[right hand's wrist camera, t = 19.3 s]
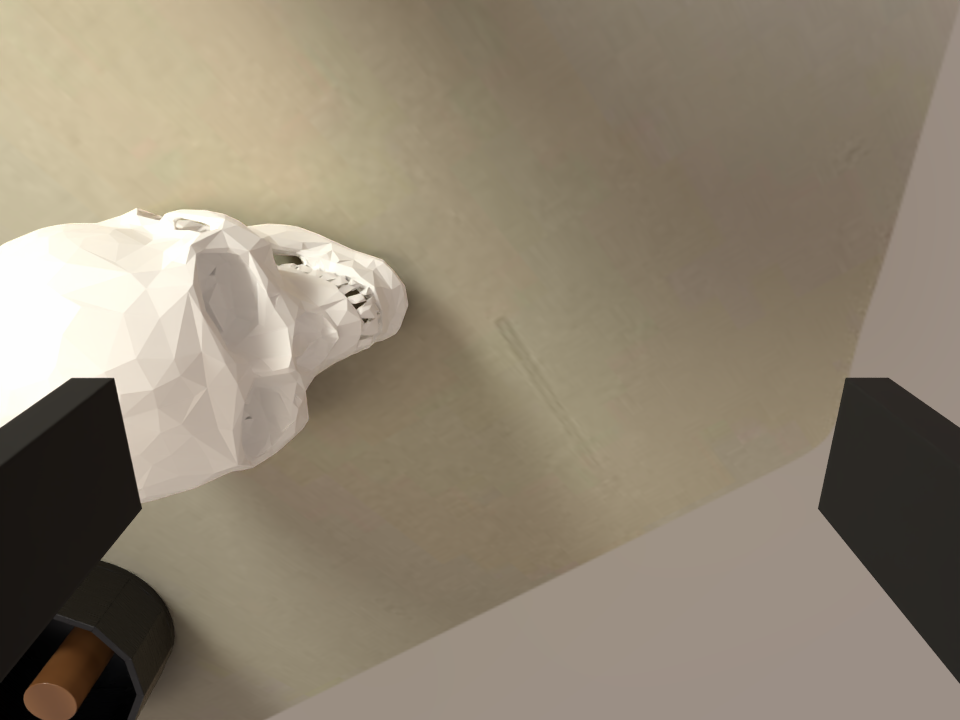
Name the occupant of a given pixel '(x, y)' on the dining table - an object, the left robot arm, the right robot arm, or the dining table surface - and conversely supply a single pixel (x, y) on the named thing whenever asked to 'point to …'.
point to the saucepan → (116, 622)
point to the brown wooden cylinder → (68, 676)
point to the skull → (188, 331)
